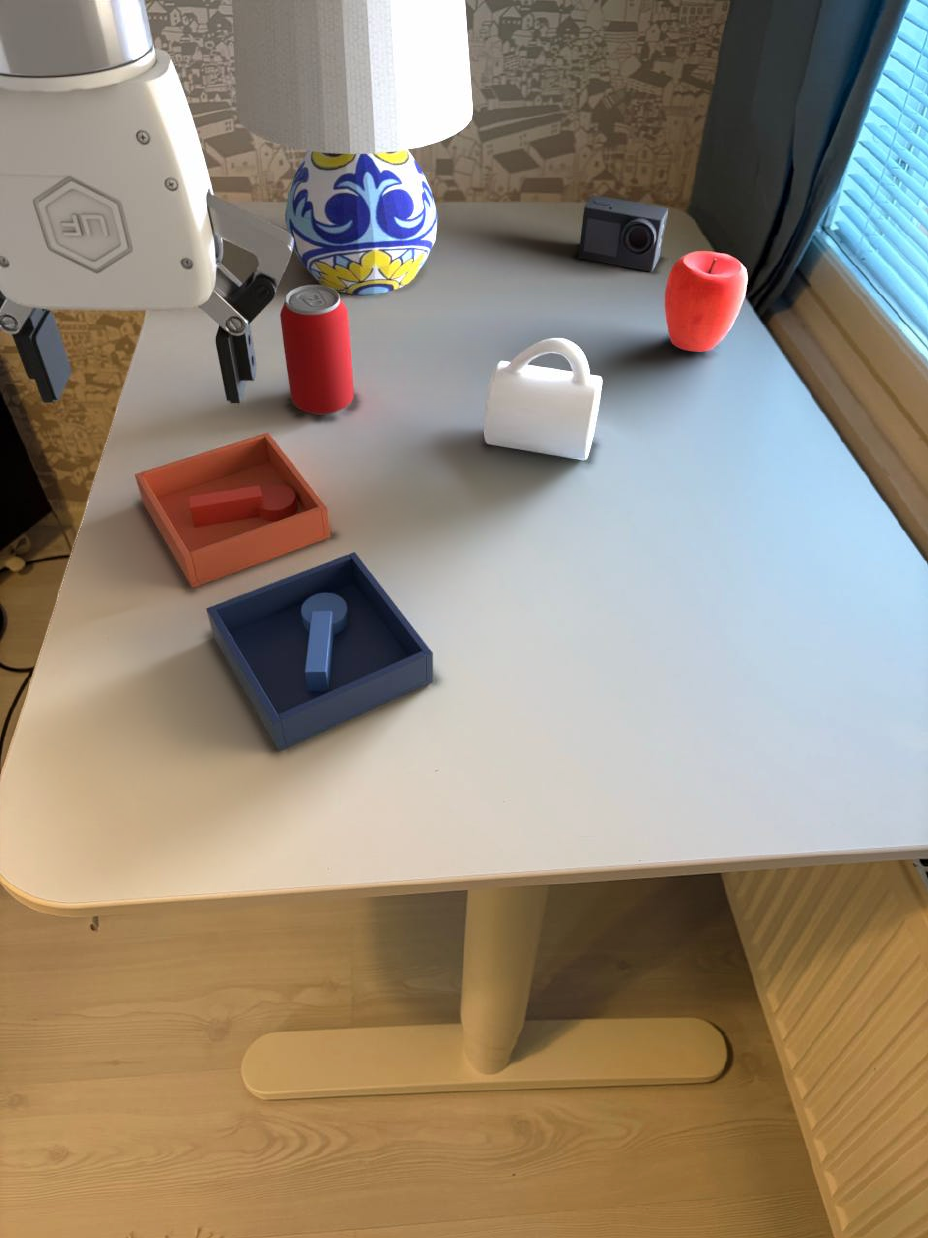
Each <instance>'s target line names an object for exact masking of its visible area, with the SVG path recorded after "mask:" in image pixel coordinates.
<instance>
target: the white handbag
mask: <svg viewBox="0 0 928 1238" xmlns="http://www.w3.org/2000/svg"><path fill="white" fill-rule="evenodd" d="M546 354H557V355H561V356H562V357H564V358H565V359H566V360H567V362H568V363H569V364H570V367H571V371H569V370H562V369H557V368H551V367H543V366H537V365H531V364H529V363H531V362H532V361H533V360H534V359H537V358H538V357H540V356H543V355H546ZM602 386H603V378H602V376H600V375H594V374H590V367H589V362H588V360H587V357H586V355H585V354H584V352H583V351H582V349H581V348H580V347H579V346H578V344H576V343H574V342H573V341H571V340H569V339H566V338H562V337H551V338H550V337H549V338H546V339H543V340H540V341H537V342H535V343H534V344H531V345H530V346H528V347H526V348H525V349H524V350H522V351H521V352H520V353H518V354H517V355H516V356H515V357H514V358H513V359H512V360H511V361H506V360H500V361H499V362H498V363H497V364H496V365H495V368H494V370H493V373H492V375H491V379H490V383H489V388H488V393H487V398H486V404H485V410H484V411H485V412H484V420H483V436H484V441H485V443H486V444H487V445H492V446H499V447H503V448H508V449H509V448H510V449H513V450H514V449H515V450H521V451H527V452H532V453H538V454H544V455H551V456H554V457H555V456H557V457H562V458H567V459H572V460H579V461H586V460H587V459H588V457H589V454H590V451H591V447H592V442H593V438H594V434H595V429H596V424H597V419H598V413H599V407H600V401H601V396H602V395H601V394H602Z"/></svg>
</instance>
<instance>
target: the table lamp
mask: <svg viewBox="0 0 928 1238" xmlns="http://www.w3.org/2000/svg"><path fill="white" fill-rule="evenodd" d="M231 8H232V9H231V10H232V11H231V12H232V13H231V14H232V33H233V35H232V36H233V59H234V62H233V63H234V78H235V79H234V83H235V85H234V86H235V104H236V105H235V108H236V109H235V110H236V117H237V119H238V121H239V123H240V125H241V126H242V127H244V129H246V130H247V131H248V133H251V134H253V135H255V136H256V137H259V138H260V139H262V140H265V141H268V142H270V143H273V144H276V145H279V146H283V147H287V148H291V149H296V150H301V151H306V153H305V154H304V157H303V159H302V161H301V162H300V164H299V166H298V167H297V169H296V171H295V173H294V176H293V179H292V182H291V184H290V188H289V191H288V194H287V201H286V208H285V217H284V218H285V225H286V226H285V227H286V231H287V232H288V233H290V234H291V235H292V237H293V239H294V244H293V249H292V250H293V251H294V252H295V254H296V256H297V257H298V259H299V261H300V263H301V264H302V266H304V267H305V269H306V270H307V271H308V273H310V275H311V276H312V277H313V278H314V280H316V281H317V282H318V283H319V285H323V286H327V287H330V288H332V289H334V290H336V291H337V292H338V293H343V294H349V295H361V296H364V295H365V296H366V295H367V296H368V295H378V294H385V293H388V292H393V291H395V290H399V289H400V288H403V287H404V286H406V285H408V284H409V283H410V282H412V281H413V280H414V279H415V278H416V275H417V274H418V273H419V271H420V270H421V269H422V267H423V266H424V264H425V263H426V261H427V259H428V257H429V255H430V253H431V251H432V249H433V247H434V244H435V242H436V239H437V229H438V213H437V208H436V204H435V201H434V197H433V196H434V195H433V192H432V189H431V187H430V185H429V182H428V181H427V178H426V176H425V173H424V171H423V170H422V168H421V166H419V163H418V162H417V161H416V160H415V158H414V156H413V155H412V154H411V152H410V151H409V150H412V149H417V148H422V147H426V146H429V145H433V144H435V143H439V142H442V141H444V140H446V139H448V138H450V137H453V136H455V135H456V134H458V133H459V132H461V131H462V130H464V128H466V127H467V126H468V125H469V123H470V122H471V121H472V119H473V112H474V110H473V109H474V108H473V96H472V95H473V93H472V83H471V81H472V80H471V68H470V67H471V66H470V53H469V39H468V26H467V25H468V24H467V12H466V11H467V10H466V0H231Z"/></svg>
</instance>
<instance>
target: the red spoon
mask: <svg viewBox="0 0 928 1238" xmlns="http://www.w3.org/2000/svg"><path fill="white" fill-rule="evenodd" d="M189 505H190V510H191V514H192V518H193V522H194V526H195V527H201V526H207V525H213V524H219V523H225V522H230V521H236V520H242V519H248V518H254V517H261V518H262V519H264V520H267V521H279V520H282V519H285V518H288V517H291V516H292V515H293V514H294V513H295V512H296V510H297V502H296V495H295V492H294V490H293V489H291V488H290V487H288V486H286V485H282V484H272V485H268V486H265V487H263V488H261V489H260V487H259V486H253V487H247V488H240V489H234V490H228V491H222V492H216V493H210V494H203V495H197V496H191V497H189Z"/></svg>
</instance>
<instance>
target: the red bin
mask: <svg viewBox="0 0 928 1238" xmlns="http://www.w3.org/2000/svg"><path fill="white" fill-rule="evenodd" d="M134 477H135V480H136V484H137V486H138V490H139V493H140V497H141V500H142V504H143V505H144V507H145V509H146V510H147V512H148V514H149V515H150V517H151V519H152V521H153V522H154V524H155V526H156V528H157V530H158V531H159V533H160V535H161V537H162V538H163V540H164V542H165V544H166V545H167V547H168V548H169V550H170V552H171V554H172V556H173V557H174V559H175V561H176V563H177V564H178V566H179V567H180V569H181V572H183V574H184V576H185V578H186V580H187V581H188V584H189V585H190V587H191V588H192V589H194V588H197V587H199V586H202V585H205V584H207V583H211V582H213V581H216V580H219V579H221V578H224V577H226V576H229V575H231V574H234V573H237V572H241V571H242V570H245V569H248V568H251V567H254V566H256V565H259V564H261V563H265V562H267V561H270V560H272V559H275V558H278V557H280V556H283V555H287V554H289V553H292V552H294V551H297V550H299V549H302V548H305V547H307V546H311V545H313V544H316V543H318V542H322V541H324V540H326V539H329V538H331V529H330V521H329V512H328V510H329V509H328V506H326V505H325V503H324V502H323V501H322V500H321V498H320V497H319V496H318V494H317V493H316V492H315V491H314V489H313V488H312V487H311V485H310V484H309V482H308V481H307V480H306V479H305V477H304V476H303V475H302V474H301V472H300V471H299V469H297V467H296V466H295V465H294V463H293V462H292V461H291V460H290V458H289V457H288V456H287V455H286V454H285V452H284V451H283V449H282V448H281V447H280V445H279V444H278V443H277V441H276V440H275V439H274V438H273V436H272V435H271V434H270V433H269V432H267V431H266V432H264V433H261V434H257V435H254V436H252V437H248V438H246V439H242V440H239V441H236V442H232V443H229V444H225V445H222V446H220V447H217V448H212V449H210V450H207V451H204V452H200V453H197V454H194V455H191V456H188V457H184V458H182V459H178V460H174V461H171V462H168V463H166V464H165V463H164V464H162V465H159V466H156V467H153V468H150V469H146V470H142V471H140V472H137V473H135V474H134ZM272 484H282V485H286V486H288V487H290V488H291V489H293V490H294V492H295V495H296V502H297V510H296V512H295V513H294V514H293V515H292V516H291V517H288V518H285V519H282V520H279V521H267V520H264V519H262V518H261V517H254V518H248V519H242V520H236V521H230V522H225V523H219V524H213V525H207V526H201V527H195V526H194V522H193V518H192V514H191V510H190V505H189V497H191V496H197V495H203V494H210V493H216V492H222V491H228V490H234V489H240V488H247V487H253V486H259V487H260V489H261V488H263V487H265V486H268V485H272Z"/></svg>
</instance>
